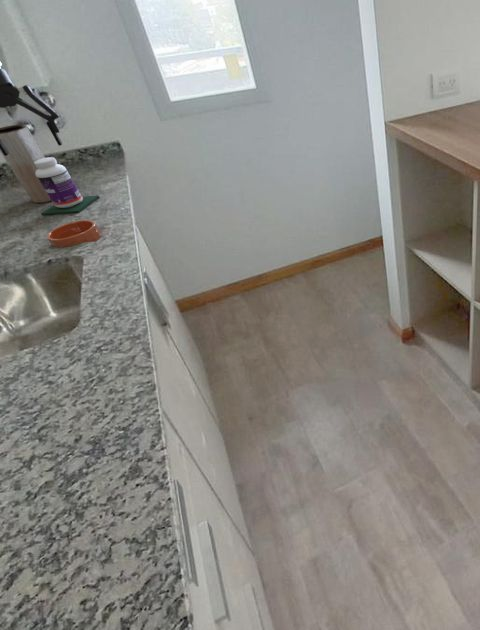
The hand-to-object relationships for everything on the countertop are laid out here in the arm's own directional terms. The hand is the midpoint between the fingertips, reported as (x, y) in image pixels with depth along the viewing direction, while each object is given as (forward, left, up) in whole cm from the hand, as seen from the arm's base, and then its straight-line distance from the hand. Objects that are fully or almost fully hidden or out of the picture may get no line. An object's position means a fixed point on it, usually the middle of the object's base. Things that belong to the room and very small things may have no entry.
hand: (34, 149), depth 132 cm
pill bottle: (0, +1, -18) cm, 18 cm away
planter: (-14, +11, -19) cm, 26 cm away
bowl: (+18, -25, -19) cm, 36 cm away
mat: (0, +1, -19) cm, 19 cm away
